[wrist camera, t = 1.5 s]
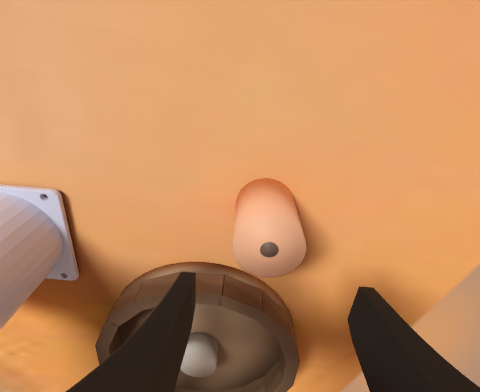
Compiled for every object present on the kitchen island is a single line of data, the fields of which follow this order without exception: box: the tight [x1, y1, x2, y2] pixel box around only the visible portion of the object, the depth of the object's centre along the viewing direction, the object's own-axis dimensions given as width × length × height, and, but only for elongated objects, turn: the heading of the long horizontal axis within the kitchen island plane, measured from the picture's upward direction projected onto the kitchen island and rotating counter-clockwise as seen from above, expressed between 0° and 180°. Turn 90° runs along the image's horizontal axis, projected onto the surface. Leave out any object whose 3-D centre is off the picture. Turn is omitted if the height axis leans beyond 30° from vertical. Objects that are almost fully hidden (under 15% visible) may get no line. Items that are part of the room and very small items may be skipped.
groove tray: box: [95, 262, 300, 392], centre depth 25 cm, size 16×16×3 cm
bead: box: [233, 178, 306, 278], centre depth 18 cm, size 4×4×5 cm
